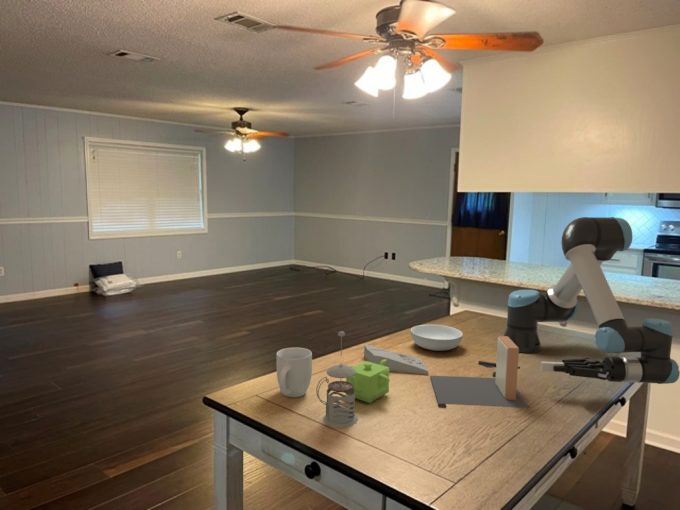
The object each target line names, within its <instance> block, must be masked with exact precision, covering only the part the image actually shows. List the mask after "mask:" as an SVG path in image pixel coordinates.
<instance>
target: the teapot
mask: <svg viewBox="0 0 680 510" xmlns="http://www.w3.org/2000/svg"><path fill="white" fill-rule="evenodd" d="M385 362H386V359H384V360H382V361H381V362H380V364H375V363H371V362H368V361H367V360H366V361H363V362H361V363H359V364H356V365H350V366H349V365H348V366H349V367H352V368H353V369H354V370H355V371H356V373H355V375H354V376H352V377H348V378H345V381H347V382H350V383H352V384H353V385H354V388H353V389H354V390H355V398H357V399H356V400H360V401H362V402H365V403H367V404H373V403H372V402H374V401H375V400H378V399H381V398H383V396H384V395H386V394H387V393H389V392H390V391H389V390H390V387H389V386H390V380H391V379H390V371H389V367H386V366H384V364H385ZM345 395H346V396H350V394H346V393H345ZM380 397H381V398H380Z"/></svg>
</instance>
